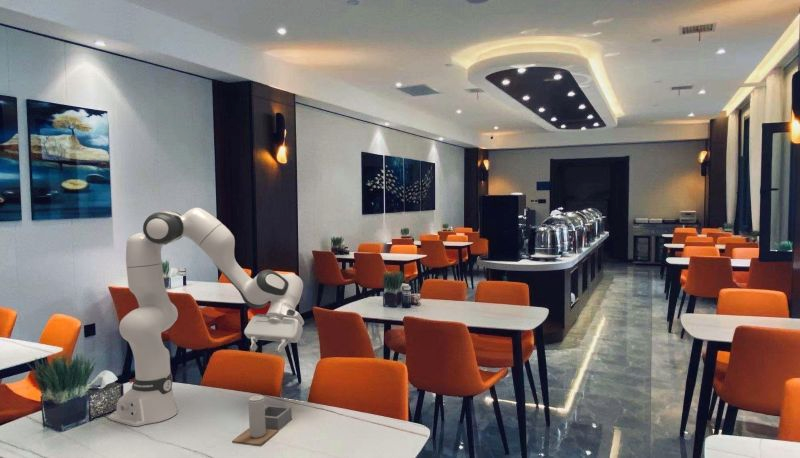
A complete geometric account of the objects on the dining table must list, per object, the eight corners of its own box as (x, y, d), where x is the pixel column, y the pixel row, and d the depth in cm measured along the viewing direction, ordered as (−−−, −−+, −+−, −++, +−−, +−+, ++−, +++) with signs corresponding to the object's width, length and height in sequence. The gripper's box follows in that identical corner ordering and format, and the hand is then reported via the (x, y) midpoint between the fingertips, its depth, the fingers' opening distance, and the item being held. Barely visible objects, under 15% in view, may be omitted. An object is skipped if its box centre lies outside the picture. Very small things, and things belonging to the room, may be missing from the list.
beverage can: (261, 439, 164) (260, 401, 163) (247, 438, 165) (245, 400, 164) (268, 432, 168) (266, 395, 168) (253, 431, 169) (252, 394, 169)
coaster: (232, 442, 163) (232, 440, 163) (250, 428, 173) (250, 427, 173) (260, 446, 160) (260, 444, 160) (278, 432, 170) (277, 430, 170)
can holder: (253, 427, 174) (253, 415, 173) (268, 416, 182) (267, 405, 182) (278, 430, 171) (277, 418, 171) (291, 419, 180) (291, 407, 179)
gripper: (250, 308, 188) (234, 343, 179) (302, 312, 182) (288, 348, 173) (257, 318, 193) (242, 352, 184) (308, 322, 186) (295, 358, 178)
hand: (265, 350), depth 178 cm, fingers open, 8 cm apart
